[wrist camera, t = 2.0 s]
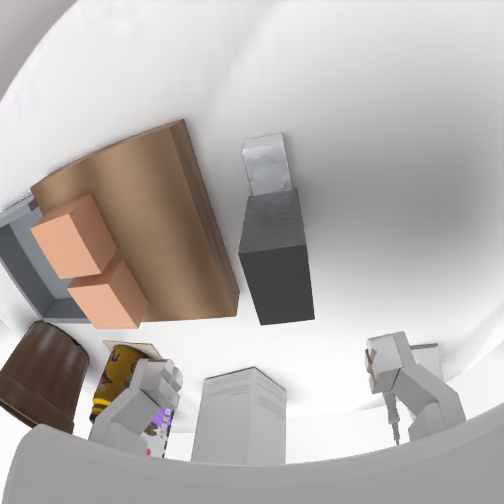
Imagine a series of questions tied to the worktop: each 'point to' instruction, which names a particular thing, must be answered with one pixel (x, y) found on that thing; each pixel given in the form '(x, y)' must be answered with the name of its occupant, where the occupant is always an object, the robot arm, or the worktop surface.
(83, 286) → the tile
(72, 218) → the tile
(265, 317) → the scraper
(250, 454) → the supplement box
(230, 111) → the worktop surface
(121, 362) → the condiment
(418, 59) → the worktop surface
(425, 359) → the skyscraper
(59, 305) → the tray
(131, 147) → the board
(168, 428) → the candy box
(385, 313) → the worktop surface
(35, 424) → the plant pot
